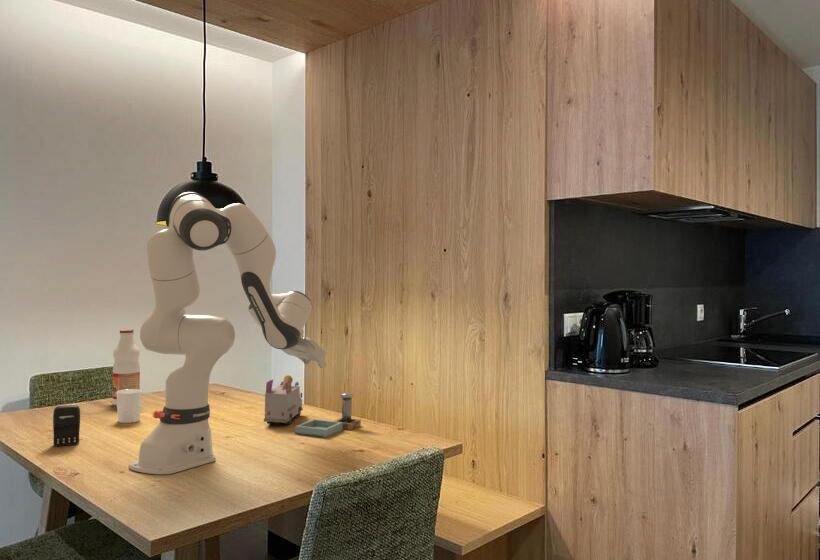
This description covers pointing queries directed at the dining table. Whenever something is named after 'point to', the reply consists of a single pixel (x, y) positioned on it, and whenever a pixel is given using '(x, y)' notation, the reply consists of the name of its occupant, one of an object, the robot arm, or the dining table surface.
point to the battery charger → (66, 425)
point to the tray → (319, 428)
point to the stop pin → (346, 407)
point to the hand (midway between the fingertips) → (316, 364)
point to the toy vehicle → (282, 402)
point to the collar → (350, 424)
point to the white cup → (129, 405)
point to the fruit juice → (125, 364)
